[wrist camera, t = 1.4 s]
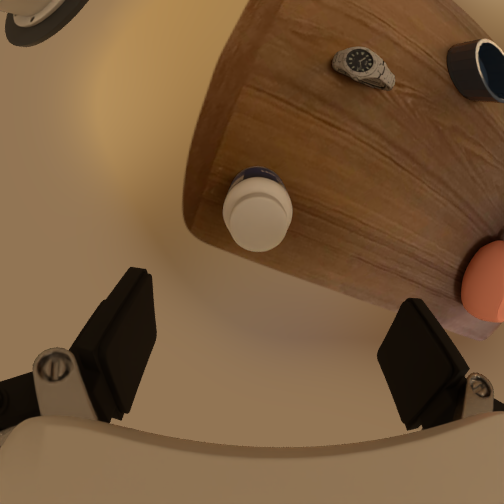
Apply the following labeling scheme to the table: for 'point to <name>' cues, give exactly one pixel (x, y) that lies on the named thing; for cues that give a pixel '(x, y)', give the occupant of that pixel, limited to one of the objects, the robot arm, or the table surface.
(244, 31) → the table surface
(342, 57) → the wristwatch
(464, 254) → the table surface
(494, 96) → the cup
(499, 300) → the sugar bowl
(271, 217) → the pill bottle
